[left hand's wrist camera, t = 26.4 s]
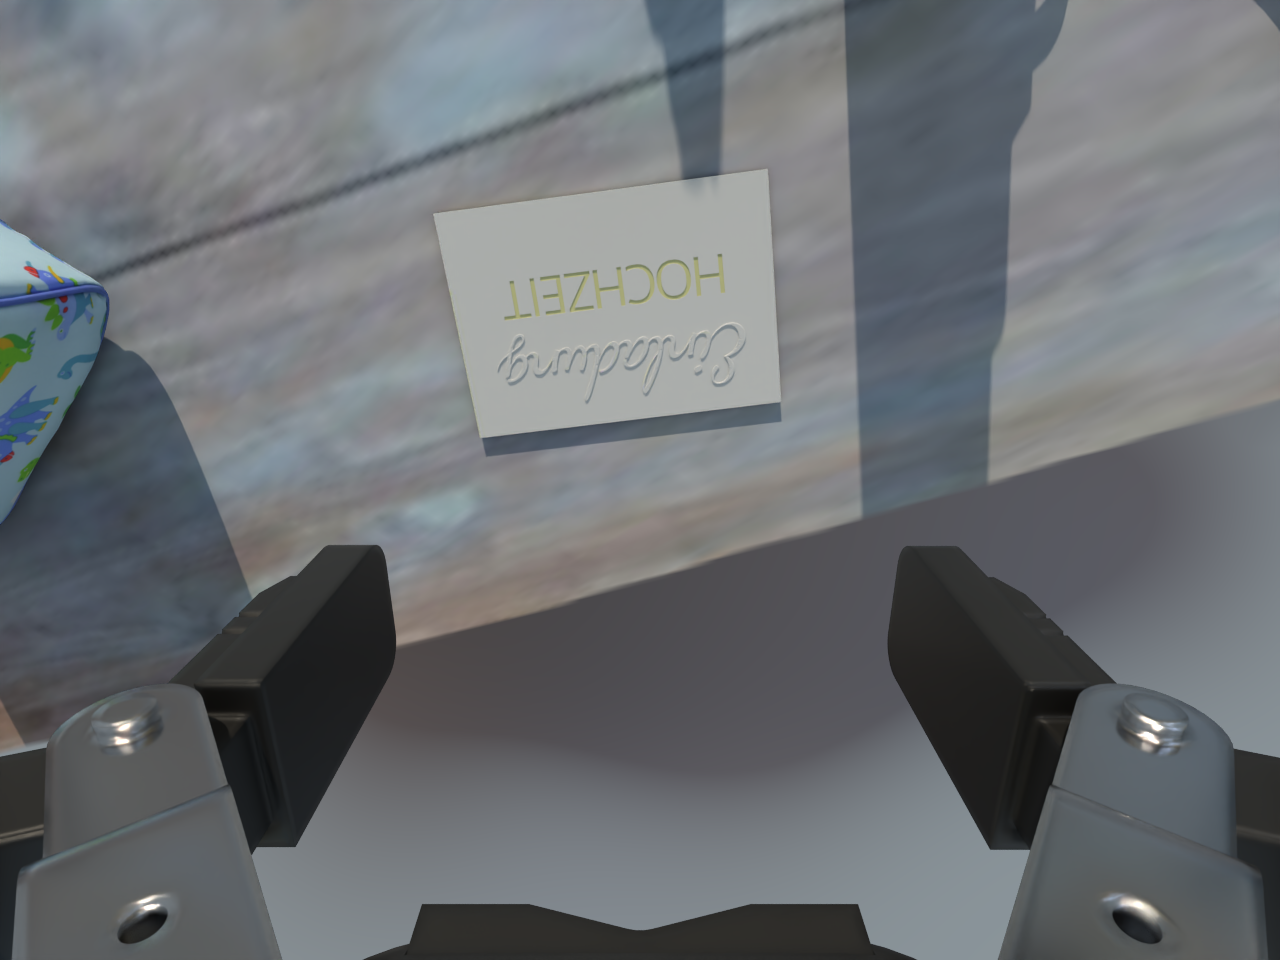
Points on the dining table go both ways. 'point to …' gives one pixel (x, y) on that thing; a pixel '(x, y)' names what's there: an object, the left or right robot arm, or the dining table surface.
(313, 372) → the dining table surface
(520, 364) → the invitation card
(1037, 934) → the left robot arm
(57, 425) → the lunch box
